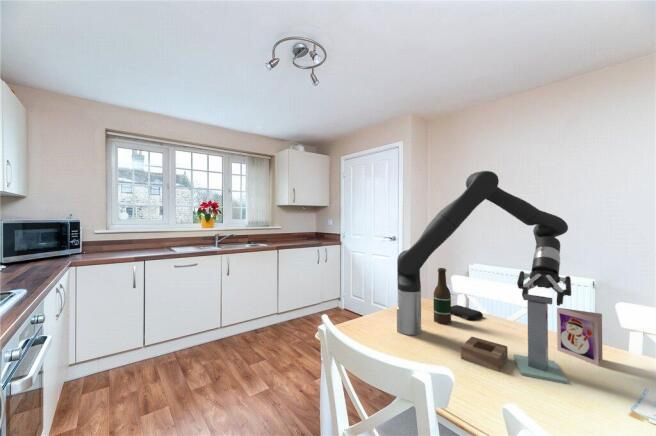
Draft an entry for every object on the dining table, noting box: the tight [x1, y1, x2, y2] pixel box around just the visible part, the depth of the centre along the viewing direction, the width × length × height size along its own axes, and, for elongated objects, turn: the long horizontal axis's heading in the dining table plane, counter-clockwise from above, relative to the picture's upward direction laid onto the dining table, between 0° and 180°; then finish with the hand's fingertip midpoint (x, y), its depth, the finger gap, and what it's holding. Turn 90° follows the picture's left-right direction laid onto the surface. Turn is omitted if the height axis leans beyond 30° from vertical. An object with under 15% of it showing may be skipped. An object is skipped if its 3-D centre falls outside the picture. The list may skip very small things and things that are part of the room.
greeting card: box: [556, 307, 603, 367], centre depth 92 cm, size 11×7×15 cm, turn 20°
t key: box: [522, 293, 553, 372], centre depth 85 cm, size 4×7×22 cm, turn 45°
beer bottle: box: [433, 267, 452, 325], centre depth 124 cm, size 8×8×24 cm
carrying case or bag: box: [451, 304, 484, 321], centre depth 132 cm, size 11×3×15 cm
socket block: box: [460, 336, 509, 372], centre depth 91 cm, size 11×11×4 cm
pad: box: [512, 353, 569, 385], centre depth 85 cm, size 11×12×1 cm
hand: (541, 301), depth 90 cm, fingers open, 8 cm apart
